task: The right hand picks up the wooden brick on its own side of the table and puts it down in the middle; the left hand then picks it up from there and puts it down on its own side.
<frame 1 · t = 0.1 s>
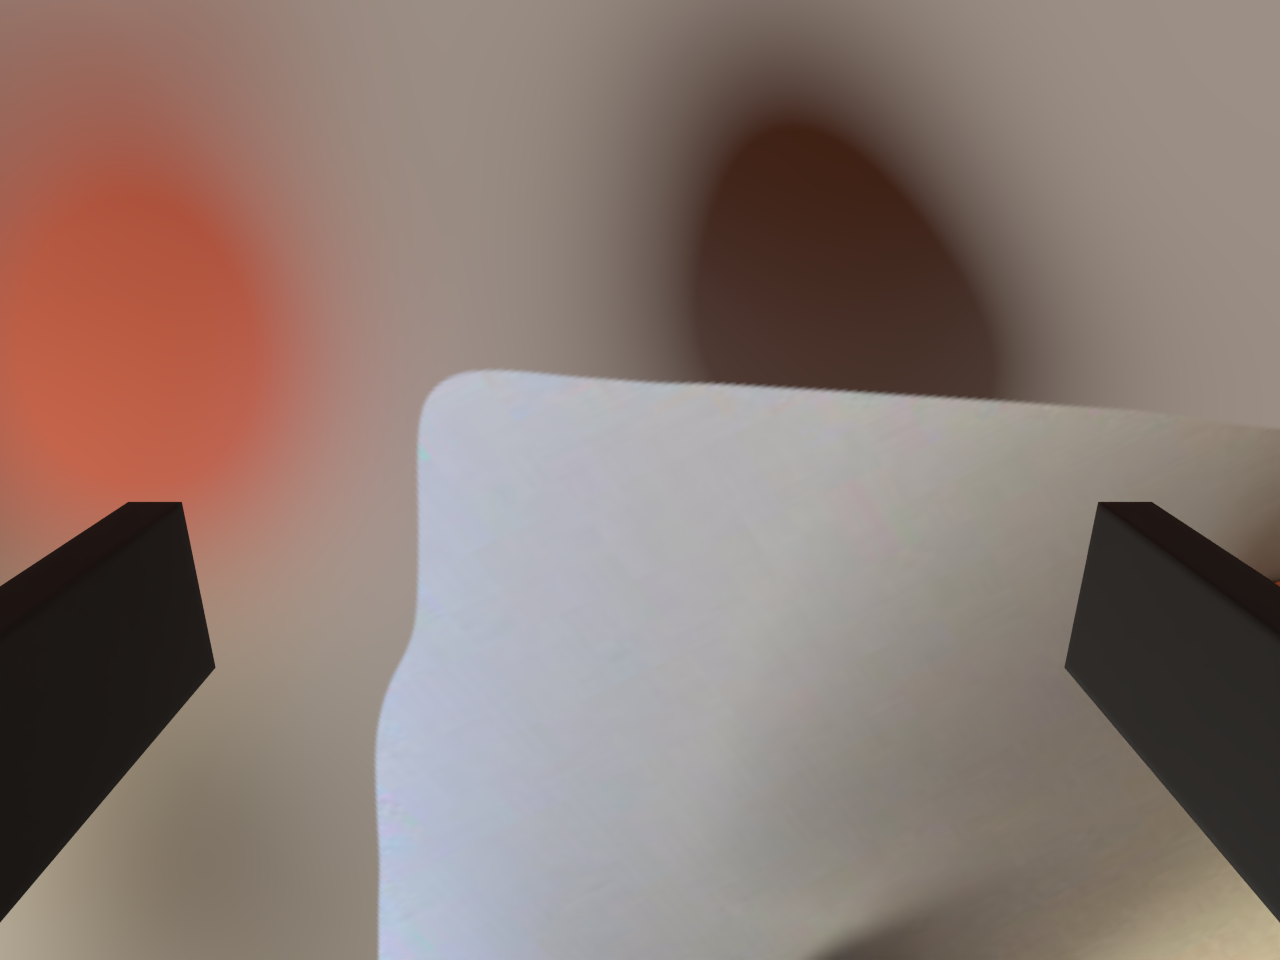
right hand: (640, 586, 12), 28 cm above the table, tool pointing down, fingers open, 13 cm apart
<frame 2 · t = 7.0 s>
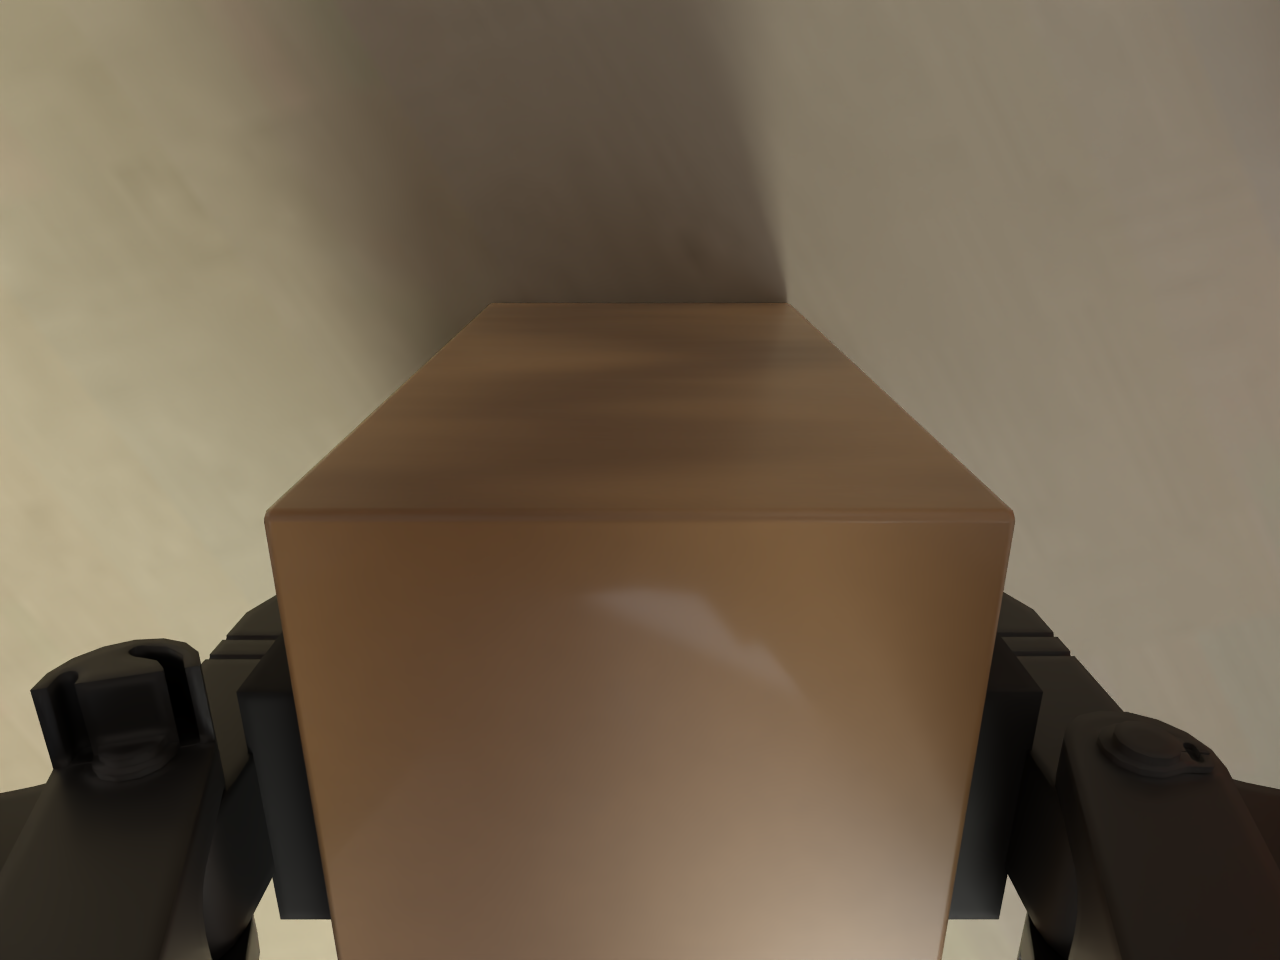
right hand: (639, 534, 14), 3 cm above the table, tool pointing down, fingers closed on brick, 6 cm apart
brick: (639, 467, 17), on the table, touching right hand
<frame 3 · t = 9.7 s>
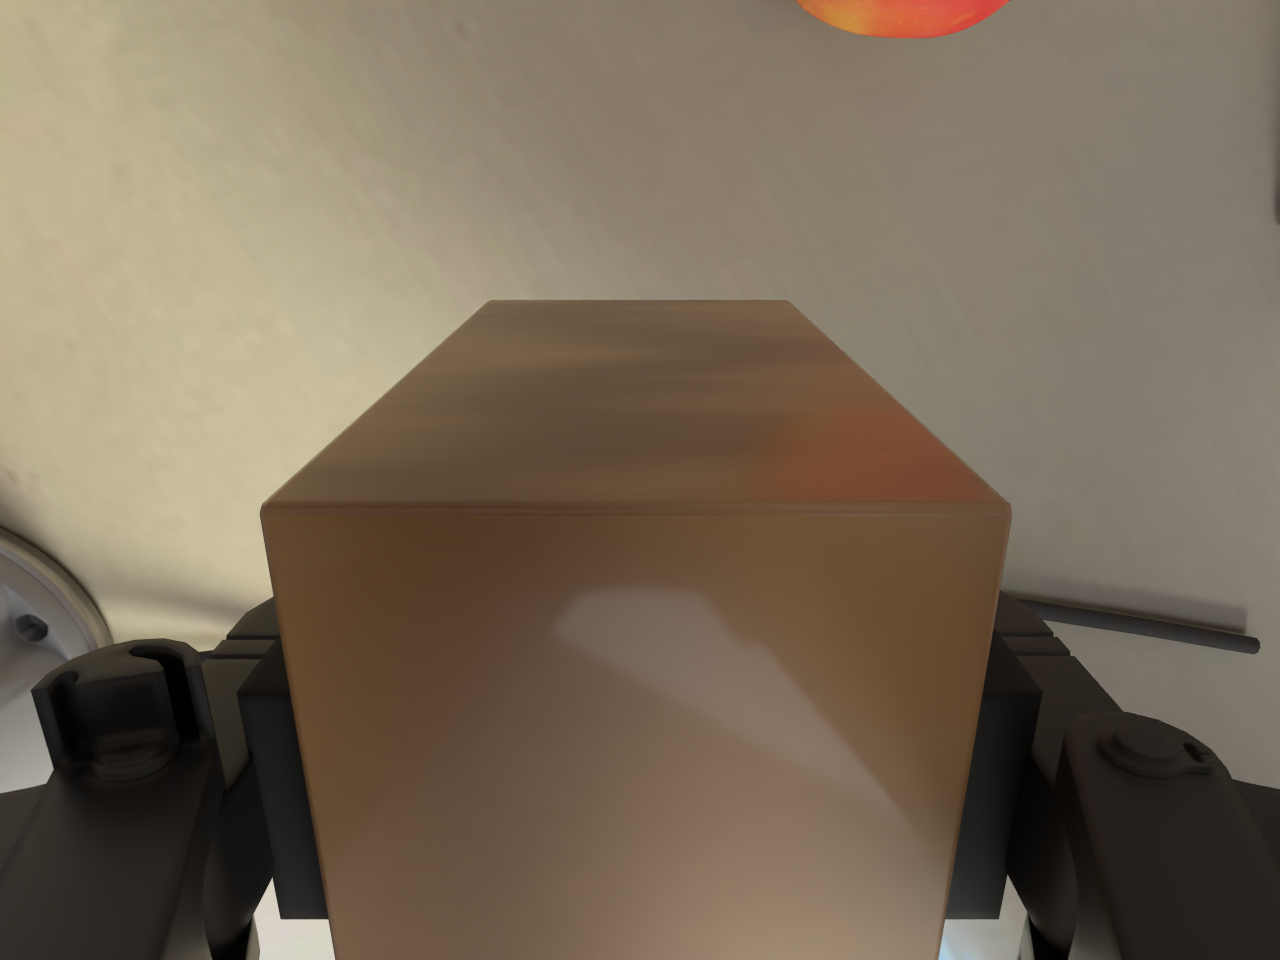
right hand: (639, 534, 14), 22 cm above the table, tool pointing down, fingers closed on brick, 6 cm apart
brick: (638, 464, 17), point 19 cm above the table, touching right hand
when the right hand's fingers open (5 cm above the table, at t = 12.7 s): brick drops 2 cm, on the table.
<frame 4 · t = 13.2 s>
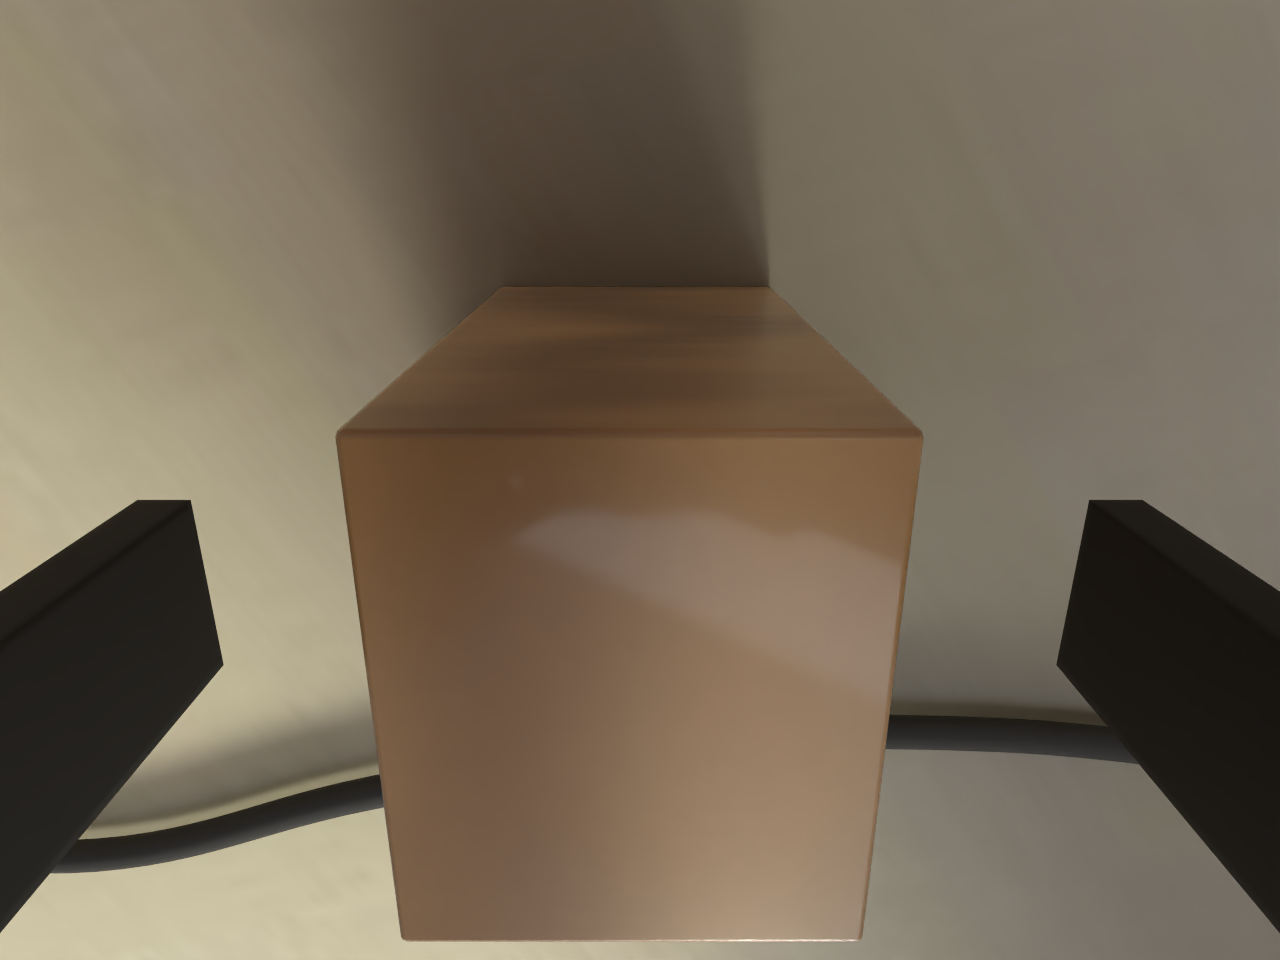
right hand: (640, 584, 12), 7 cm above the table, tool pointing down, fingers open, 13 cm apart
brick: (635, 436, 19), on the table
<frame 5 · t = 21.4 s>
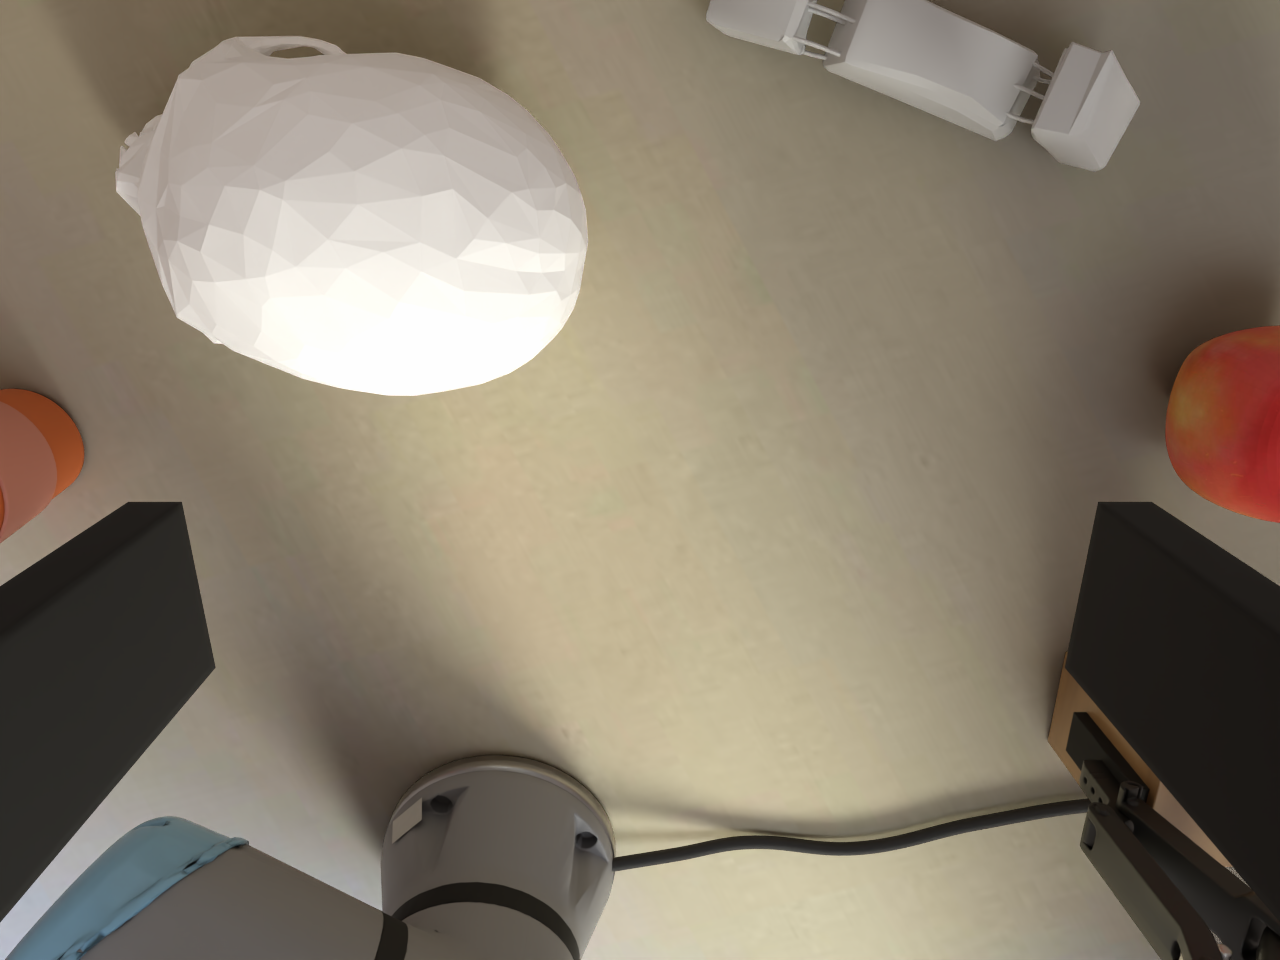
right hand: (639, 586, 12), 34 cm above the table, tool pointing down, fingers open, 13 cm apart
brick: (1101, 697, 53), on the table, touching left hand
cup with straw: (31, 440, 47), on the table
apple: (1208, 392, 46), on the table
white segmented model: (911, 64, 40), on the table
skull: (379, 206, 43), on the table
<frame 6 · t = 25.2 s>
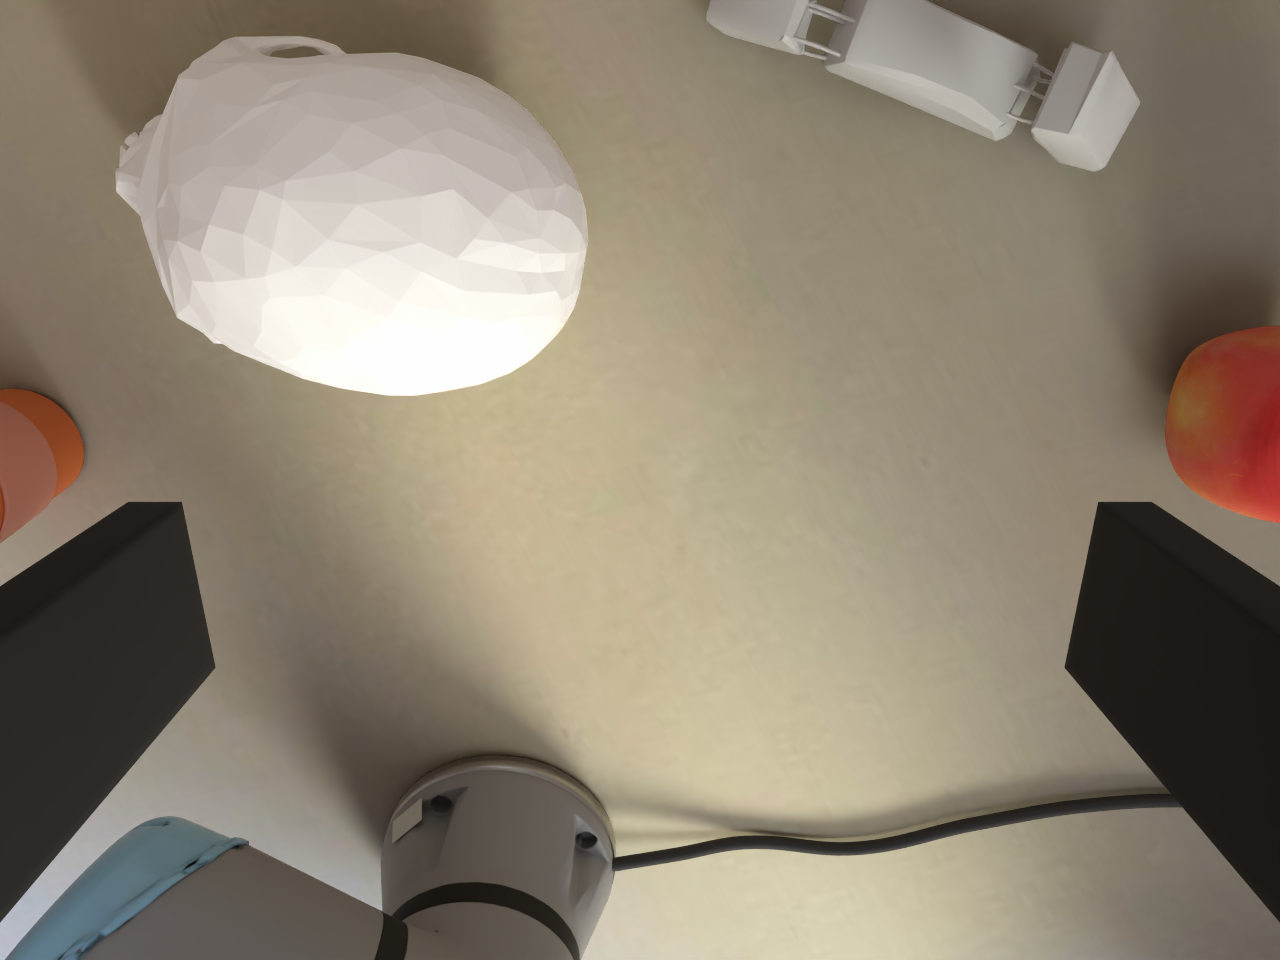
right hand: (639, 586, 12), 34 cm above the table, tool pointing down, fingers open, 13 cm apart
cup with straw: (31, 440, 47), on the table
apple: (1208, 392, 46), on the table
white segmented model: (911, 64, 40), on the table
skull: (379, 206, 43), on the table
when the left hand's fingers open (5 cm above the table, at t = 28.9 s): brick drops 2 cm, on the table.
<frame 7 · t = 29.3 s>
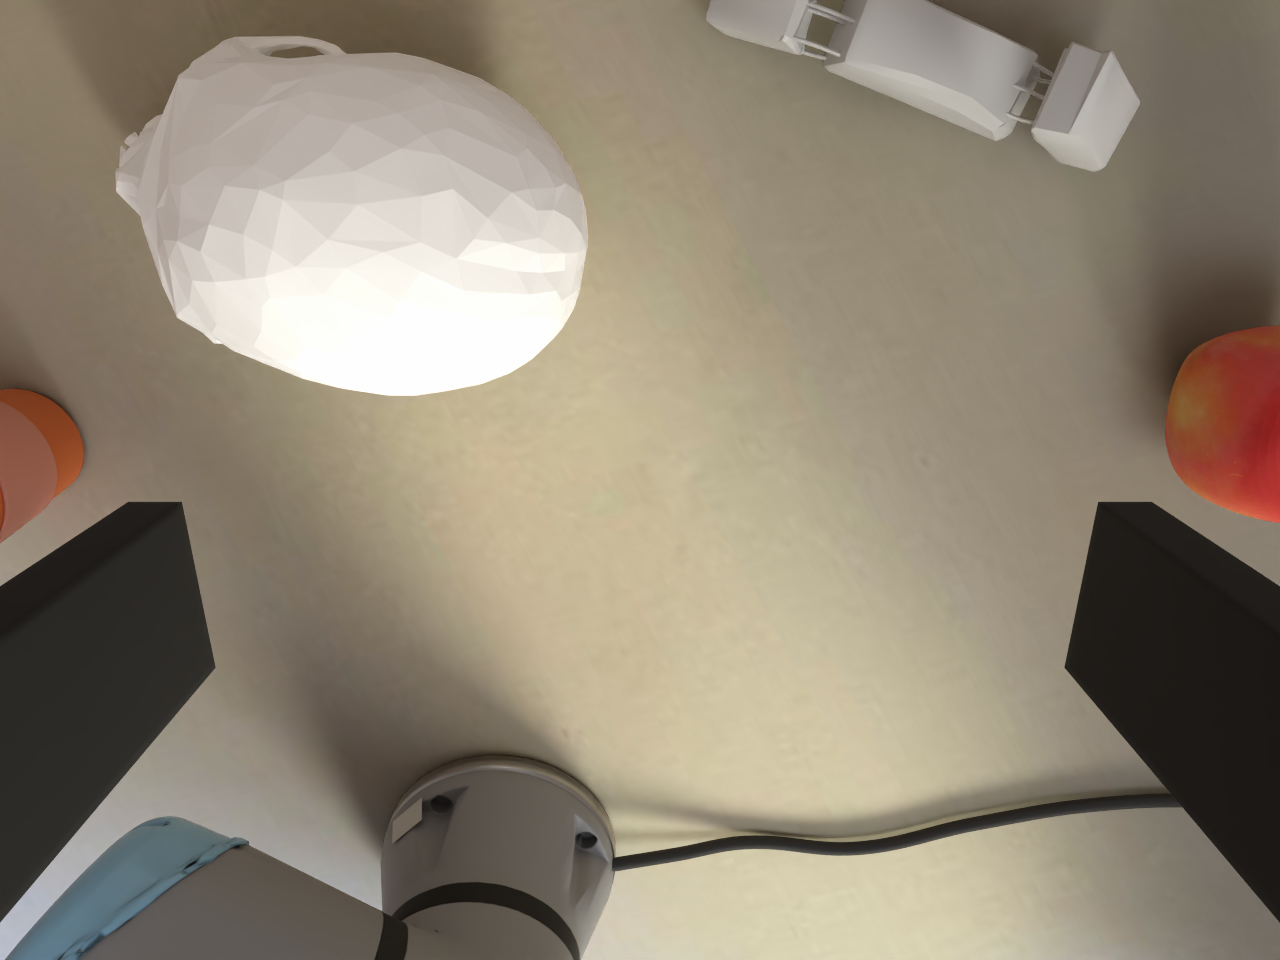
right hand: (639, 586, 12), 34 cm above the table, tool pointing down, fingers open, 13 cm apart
cup with straw: (31, 440, 47), on the table
apple: (1208, 392, 46), on the table
white segmented model: (911, 64, 40), on the table
skull: (379, 206, 43), on the table
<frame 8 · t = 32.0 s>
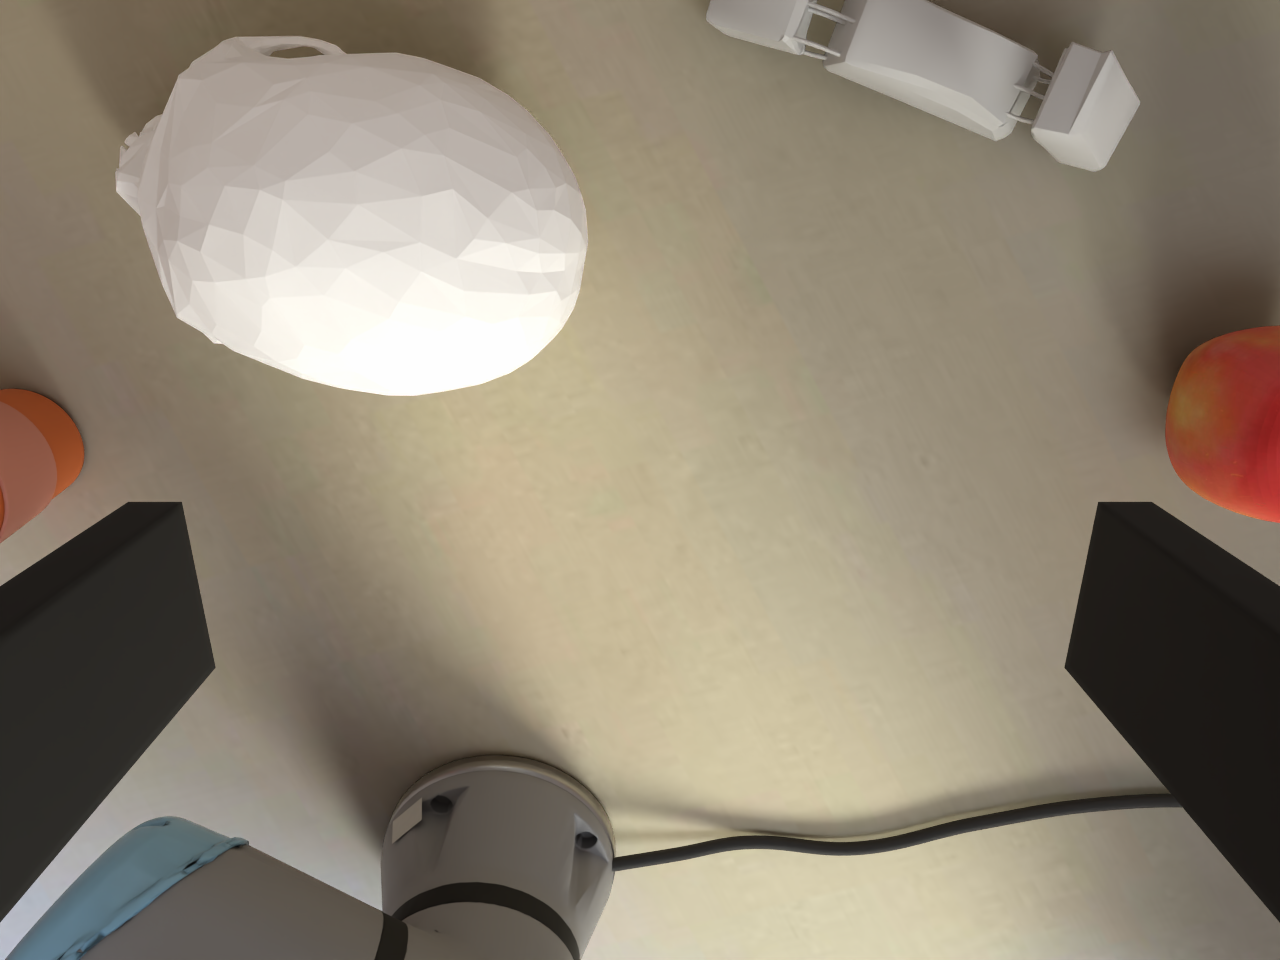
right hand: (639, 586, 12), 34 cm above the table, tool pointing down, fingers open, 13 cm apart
cup with straw: (31, 440, 47), on the table
apple: (1208, 392, 46), on the table
white segmented model: (911, 64, 40), on the table
skull: (379, 206, 43), on the table
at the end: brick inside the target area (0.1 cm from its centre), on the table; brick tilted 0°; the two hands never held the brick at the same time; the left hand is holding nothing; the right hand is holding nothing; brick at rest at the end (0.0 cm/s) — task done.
